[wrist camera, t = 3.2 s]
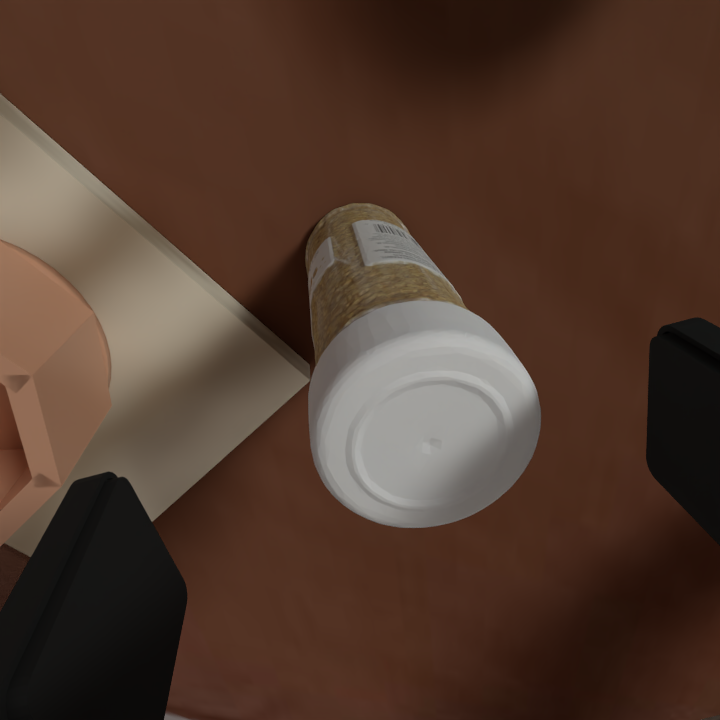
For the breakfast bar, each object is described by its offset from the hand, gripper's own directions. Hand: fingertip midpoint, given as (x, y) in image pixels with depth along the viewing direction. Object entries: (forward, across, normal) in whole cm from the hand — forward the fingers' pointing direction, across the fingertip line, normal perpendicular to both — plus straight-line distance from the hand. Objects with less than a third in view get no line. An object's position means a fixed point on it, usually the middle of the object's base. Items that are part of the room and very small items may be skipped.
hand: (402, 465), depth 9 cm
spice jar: (+14, -1, 0) cm, 14 cm away
